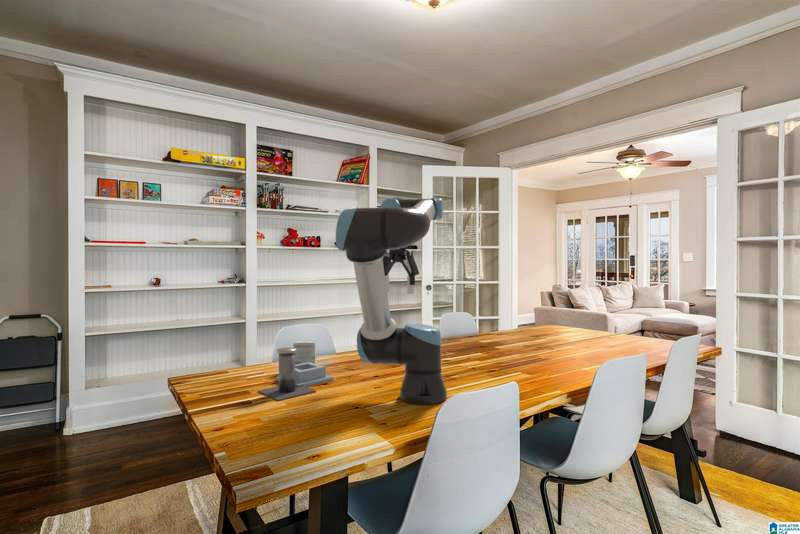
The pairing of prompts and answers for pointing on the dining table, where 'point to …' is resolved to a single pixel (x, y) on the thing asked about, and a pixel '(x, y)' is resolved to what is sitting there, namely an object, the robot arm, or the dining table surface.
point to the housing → (310, 374)
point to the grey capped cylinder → (286, 369)
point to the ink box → (305, 352)
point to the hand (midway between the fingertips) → (398, 293)
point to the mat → (280, 396)
